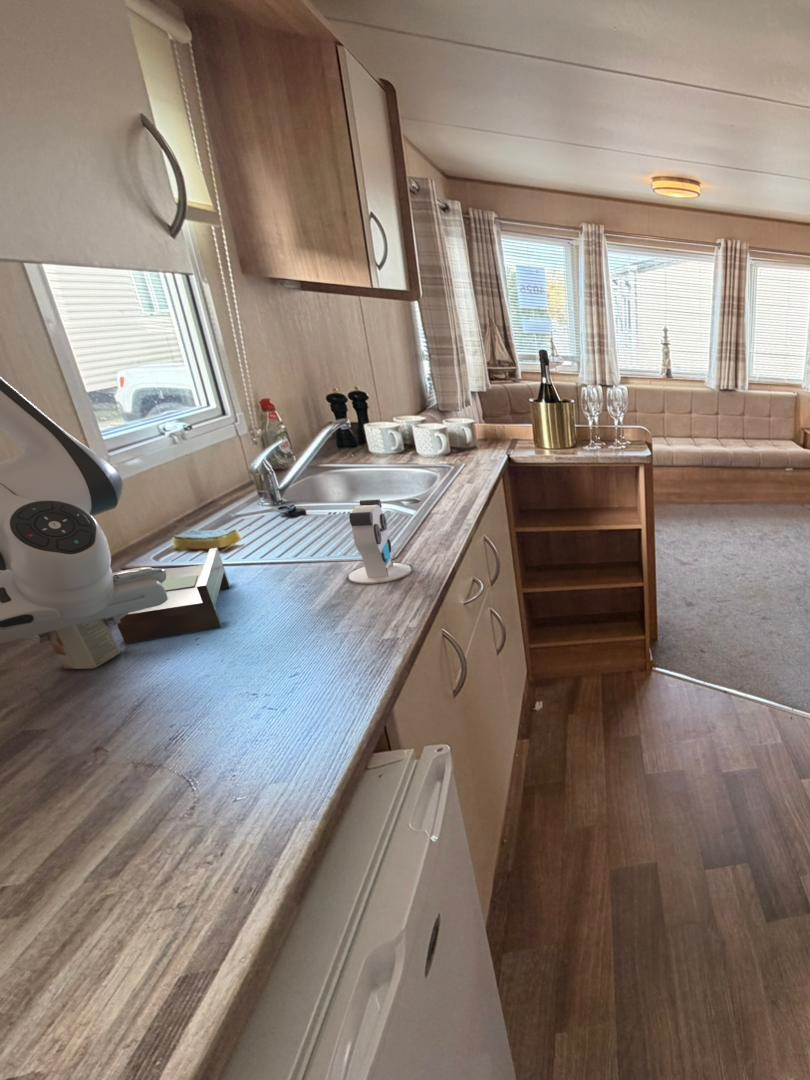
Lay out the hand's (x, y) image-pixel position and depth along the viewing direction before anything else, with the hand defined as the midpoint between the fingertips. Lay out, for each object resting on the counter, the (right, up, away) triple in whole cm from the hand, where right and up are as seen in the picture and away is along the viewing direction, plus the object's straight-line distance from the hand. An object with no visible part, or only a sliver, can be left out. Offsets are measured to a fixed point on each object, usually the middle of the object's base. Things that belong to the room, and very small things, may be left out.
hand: (76, 629), depth 97 cm
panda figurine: (+21, +10, +39) cm, 45 cm away
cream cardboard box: (0, -5, +2) cm, 6 cm away
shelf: (-2, +2, +19) cm, 19 cm away
